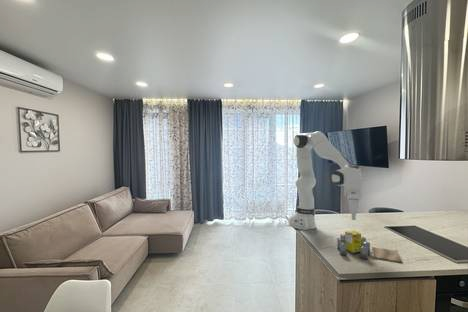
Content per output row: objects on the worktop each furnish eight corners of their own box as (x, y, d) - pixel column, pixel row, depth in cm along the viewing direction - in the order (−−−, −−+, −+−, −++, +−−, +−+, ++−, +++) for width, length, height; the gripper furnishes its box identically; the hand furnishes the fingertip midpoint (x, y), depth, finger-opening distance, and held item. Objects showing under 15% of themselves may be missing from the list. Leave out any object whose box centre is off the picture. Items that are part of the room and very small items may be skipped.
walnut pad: (374, 258, 121) (374, 256, 121) (372, 248, 133) (372, 247, 133) (402, 263, 116) (402, 261, 116) (396, 252, 128) (396, 250, 128)
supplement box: (361, 252, 128) (361, 233, 128) (353, 254, 126) (353, 234, 126) (353, 248, 134) (353, 230, 133) (344, 249, 132) (344, 231, 132)
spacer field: (336, 254, 126) (336, 244, 126) (337, 243, 141) (337, 233, 141) (371, 260, 118) (371, 249, 118) (368, 247, 134) (368, 237, 134)
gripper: (346, 190, 140) (347, 212, 140) (346, 196, 122) (347, 221, 122) (358, 190, 137) (358, 213, 137) (360, 196, 119) (360, 223, 119)
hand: (353, 217), depth 129 cm, fingers open, 8 cm apart
